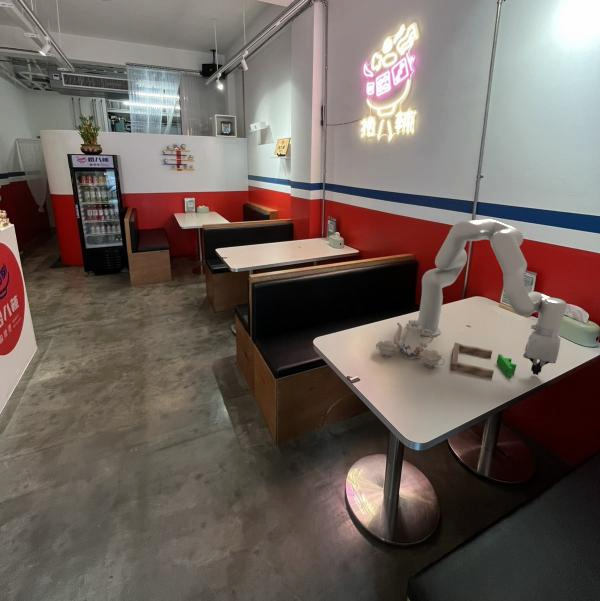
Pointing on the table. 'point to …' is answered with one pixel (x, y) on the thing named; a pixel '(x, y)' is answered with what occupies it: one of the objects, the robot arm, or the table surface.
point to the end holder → (470, 368)
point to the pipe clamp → (506, 365)
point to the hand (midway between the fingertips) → (535, 373)
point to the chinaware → (410, 345)
